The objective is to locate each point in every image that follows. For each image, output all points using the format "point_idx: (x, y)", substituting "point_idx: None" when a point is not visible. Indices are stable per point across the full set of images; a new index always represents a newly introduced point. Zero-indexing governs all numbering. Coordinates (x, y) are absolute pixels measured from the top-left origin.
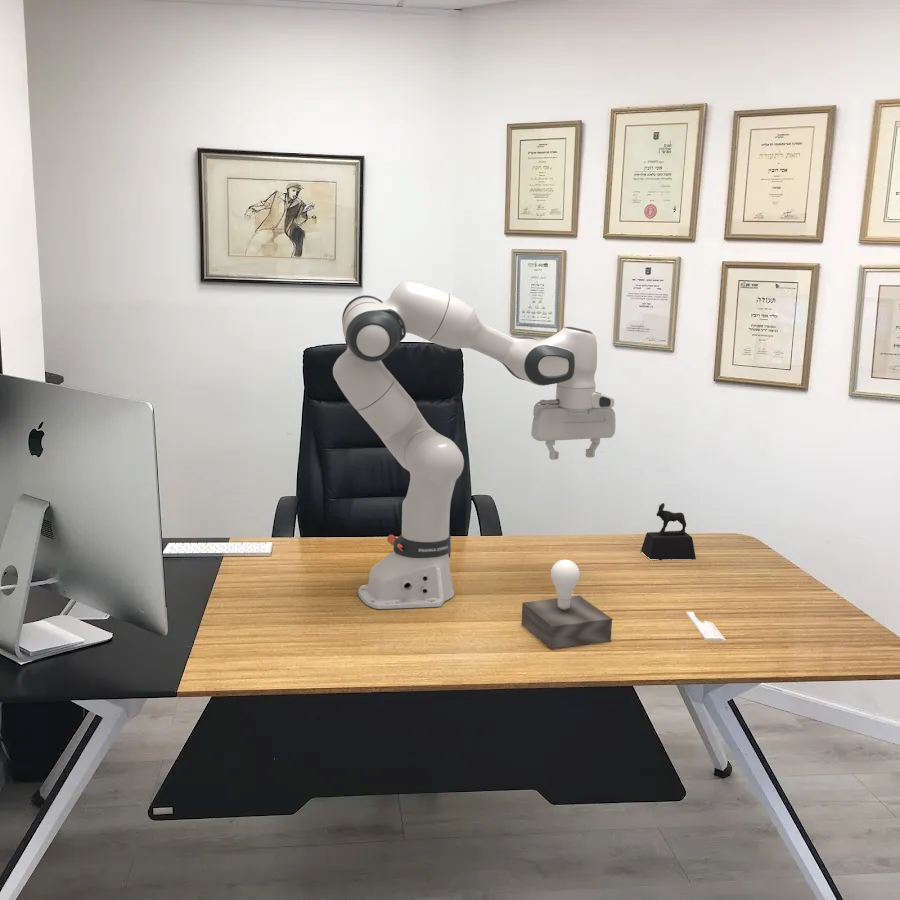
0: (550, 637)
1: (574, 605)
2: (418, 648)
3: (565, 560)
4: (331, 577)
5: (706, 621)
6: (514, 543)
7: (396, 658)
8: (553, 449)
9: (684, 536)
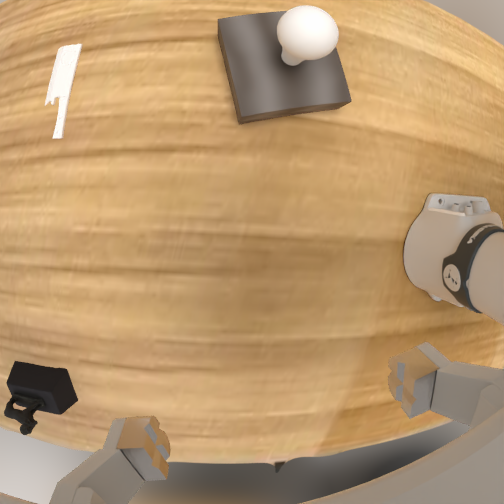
0: None
1: (265, 72)
2: (453, 77)
3: (317, 19)
4: None
5: (51, 101)
6: (257, 442)
7: (468, 63)
8: (464, 372)
9: (14, 386)
